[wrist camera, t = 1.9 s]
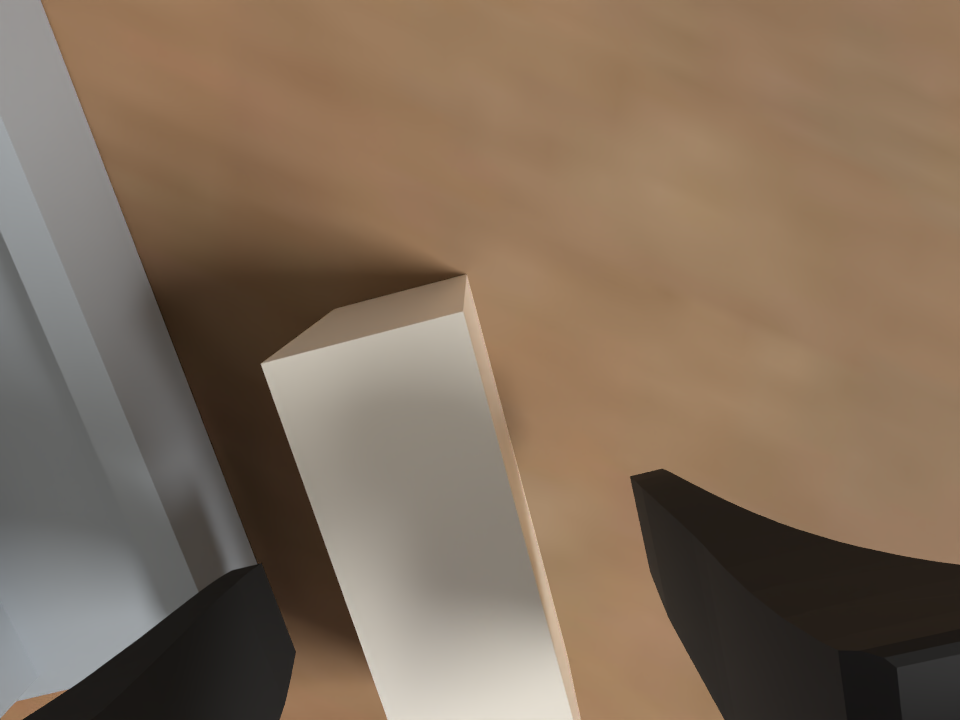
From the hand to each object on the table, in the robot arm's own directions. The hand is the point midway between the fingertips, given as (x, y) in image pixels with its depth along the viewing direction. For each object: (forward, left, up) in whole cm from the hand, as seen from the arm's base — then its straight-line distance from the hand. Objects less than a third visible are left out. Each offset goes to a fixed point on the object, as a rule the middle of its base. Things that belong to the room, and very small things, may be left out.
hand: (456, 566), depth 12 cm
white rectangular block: (0, 0, -3) cm, 3 cm away
